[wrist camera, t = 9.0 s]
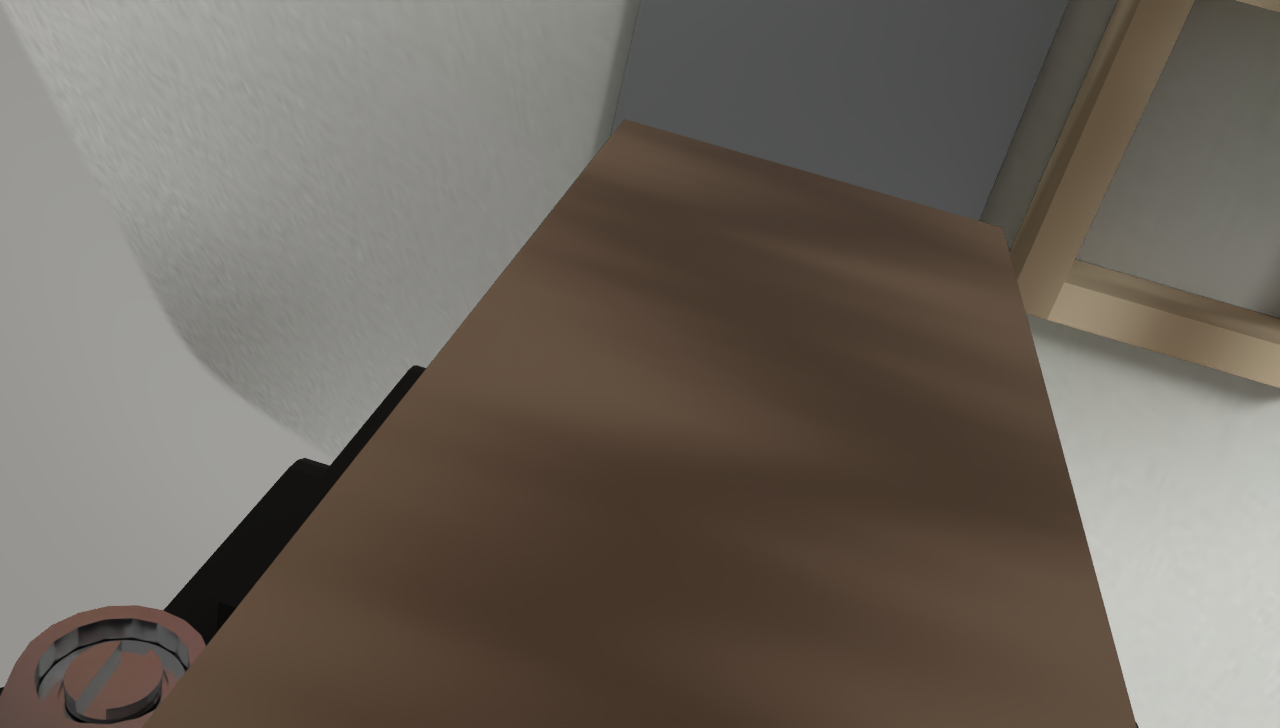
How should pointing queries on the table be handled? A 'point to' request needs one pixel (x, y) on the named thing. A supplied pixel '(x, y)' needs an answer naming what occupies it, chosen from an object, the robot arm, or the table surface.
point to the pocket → (1073, 197)
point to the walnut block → (698, 487)
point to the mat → (847, 86)
